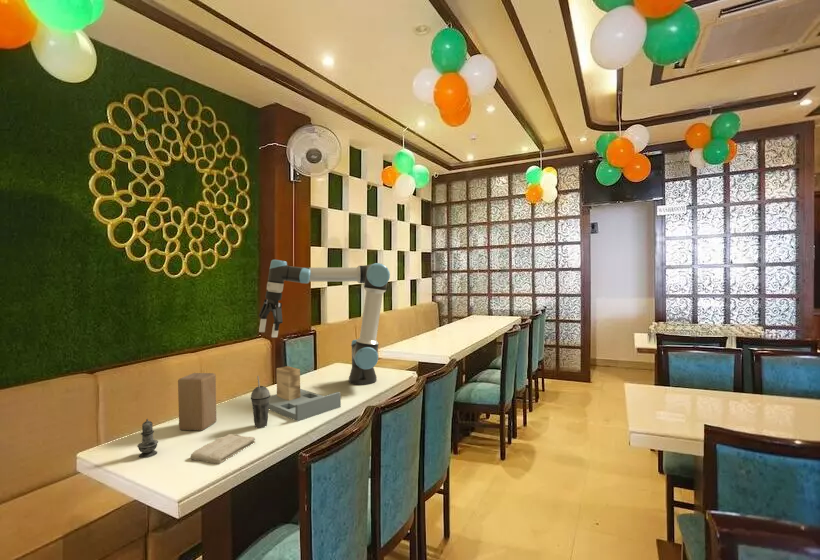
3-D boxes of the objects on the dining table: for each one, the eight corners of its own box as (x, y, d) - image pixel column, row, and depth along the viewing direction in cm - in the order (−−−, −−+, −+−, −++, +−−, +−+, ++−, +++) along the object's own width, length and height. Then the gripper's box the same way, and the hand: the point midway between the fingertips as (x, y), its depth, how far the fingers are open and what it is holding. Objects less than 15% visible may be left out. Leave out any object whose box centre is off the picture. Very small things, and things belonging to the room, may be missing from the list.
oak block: (288, 393, 193) (287, 366, 192) (300, 397, 186) (299, 369, 186) (276, 396, 188) (276, 368, 188) (288, 400, 182) (288, 371, 181)
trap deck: (299, 393, 201) (299, 380, 201) (340, 407, 180) (340, 392, 180) (257, 404, 184) (257, 390, 184) (297, 421, 163) (297, 405, 163)
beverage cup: (274, 423, 161) (273, 373, 161) (262, 430, 154) (261, 378, 154) (259, 421, 163) (258, 372, 163) (246, 428, 156) (245, 376, 156)
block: (217, 421, 164) (216, 372, 163) (202, 431, 154) (201, 379, 153) (194, 421, 165) (193, 372, 164) (177, 430, 155) (176, 378, 154)
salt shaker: (143, 450, 137) (142, 415, 137) (162, 450, 138) (161, 415, 138) (133, 458, 132) (132, 422, 131) (152, 458, 132) (151, 421, 132)
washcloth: (257, 443, 144) (257, 434, 144) (219, 466, 127) (219, 456, 127) (230, 439, 148) (230, 431, 147) (189, 461, 130) (189, 452, 130)
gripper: (255, 287, 204) (249, 329, 203) (279, 293, 186) (272, 339, 186) (270, 289, 209) (263, 330, 209) (294, 295, 191) (287, 339, 191)
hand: (267, 334), depth 197 cm, fingers open, 13 cm apart
